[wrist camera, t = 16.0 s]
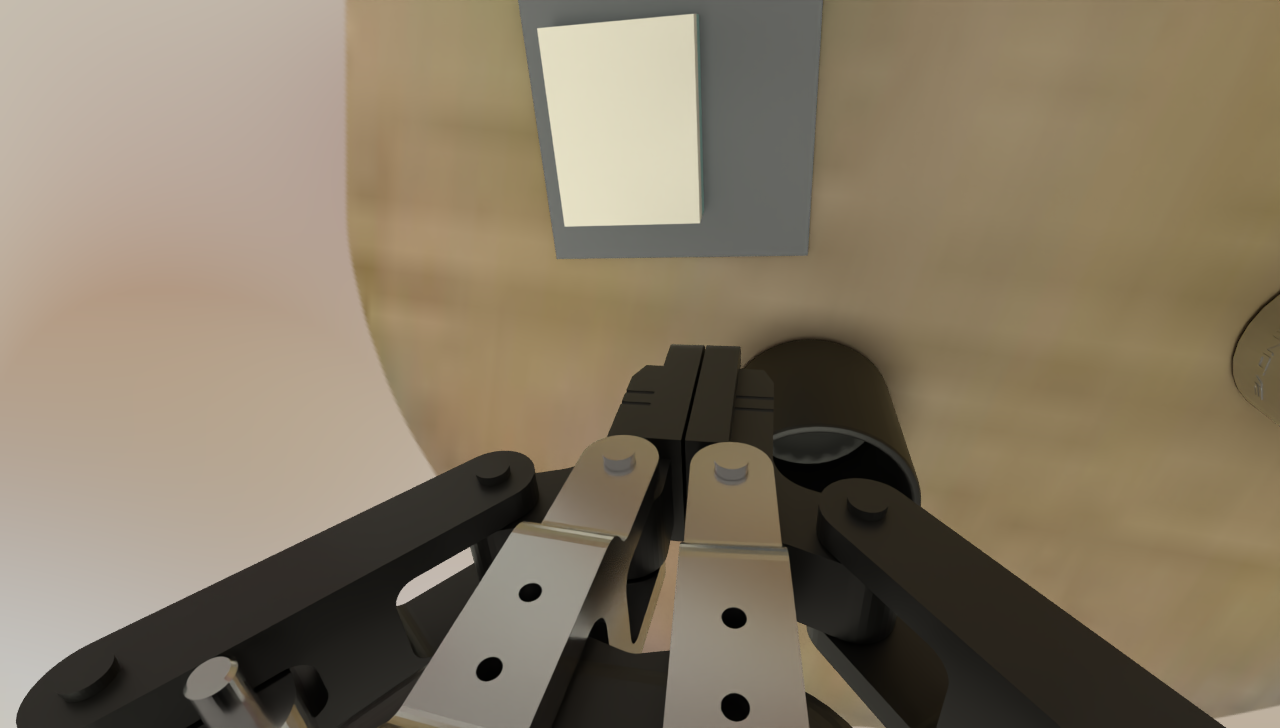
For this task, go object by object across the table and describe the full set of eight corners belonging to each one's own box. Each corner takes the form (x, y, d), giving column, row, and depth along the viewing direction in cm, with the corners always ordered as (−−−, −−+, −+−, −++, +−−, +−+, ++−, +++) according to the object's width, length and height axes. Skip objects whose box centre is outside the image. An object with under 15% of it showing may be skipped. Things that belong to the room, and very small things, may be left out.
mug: (773, 507, 42) (774, 618, 34) (706, 364, 37) (691, 455, 29) (917, 476, 38) (955, 591, 30) (863, 314, 34) (892, 402, 26)
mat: (825, -63, 26) (826, -65, 25) (807, 252, 32) (807, 255, 32) (517, -29, 28) (513, -29, 28) (559, 256, 35) (556, 258, 35)
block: (693, 13, 25) (537, 28, 27) (699, 223, 30) (564, 226, 31) (699, 14, 28) (553, 27, 29) (704, 210, 32) (577, 214, 33)
